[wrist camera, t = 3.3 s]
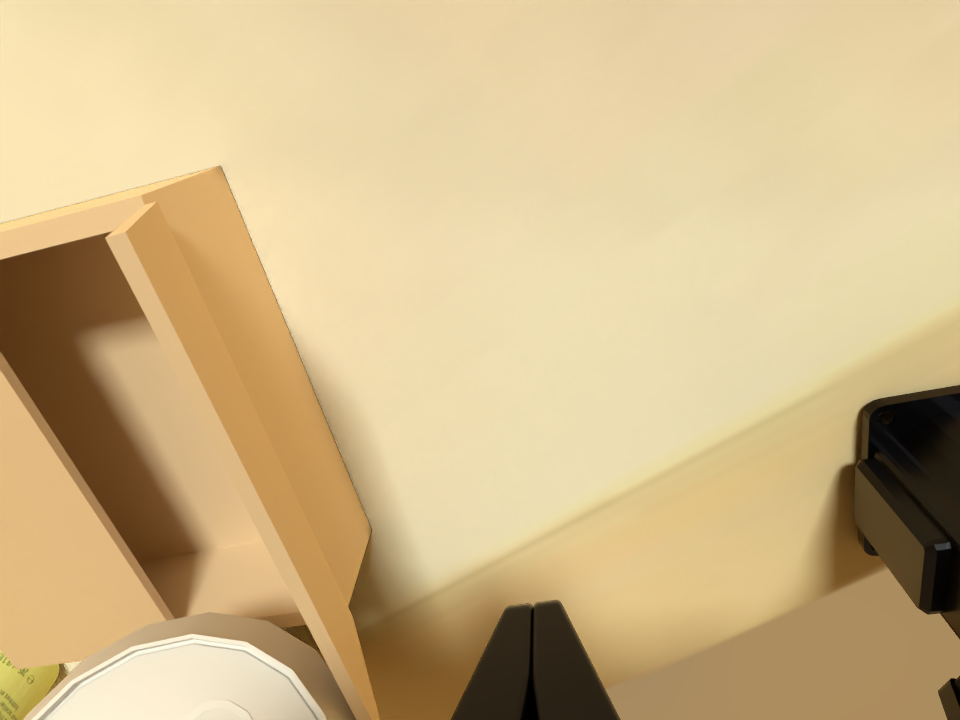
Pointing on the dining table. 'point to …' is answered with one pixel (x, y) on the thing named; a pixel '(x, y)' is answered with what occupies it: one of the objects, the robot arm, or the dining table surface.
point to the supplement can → (200, 676)
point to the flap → (240, 440)
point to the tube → (23, 687)
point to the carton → (144, 435)
